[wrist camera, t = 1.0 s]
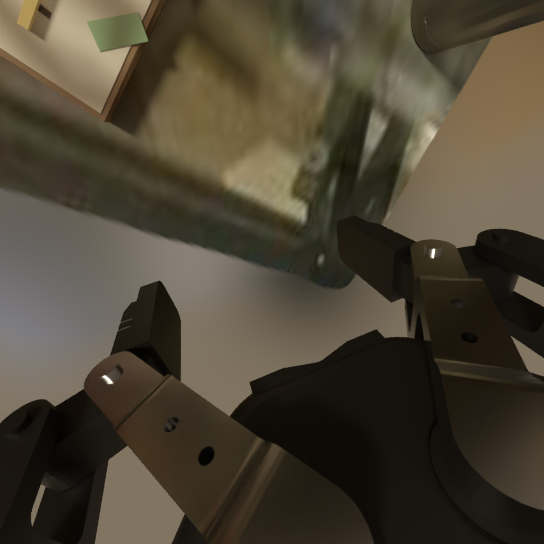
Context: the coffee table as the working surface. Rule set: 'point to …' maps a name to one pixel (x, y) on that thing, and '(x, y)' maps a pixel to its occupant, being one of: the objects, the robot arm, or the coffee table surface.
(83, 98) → the desk tray with supplies
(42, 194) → the coffee table surface
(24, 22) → the wooden mallet
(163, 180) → the coffee table surface
